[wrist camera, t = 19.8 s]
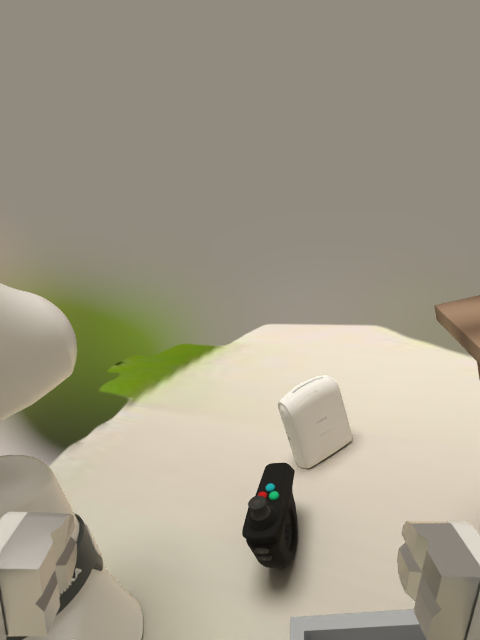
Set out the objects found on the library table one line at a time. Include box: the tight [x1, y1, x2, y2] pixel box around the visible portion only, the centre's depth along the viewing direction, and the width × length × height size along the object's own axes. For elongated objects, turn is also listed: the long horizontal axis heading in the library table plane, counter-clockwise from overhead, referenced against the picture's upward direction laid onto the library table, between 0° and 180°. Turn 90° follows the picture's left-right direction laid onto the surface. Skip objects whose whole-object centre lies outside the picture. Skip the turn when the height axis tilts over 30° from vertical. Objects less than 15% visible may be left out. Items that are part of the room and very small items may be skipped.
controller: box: [242, 463, 298, 568], centre depth 48 cm, size 4×12×10 cm, turn 163°
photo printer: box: [278, 375, 352, 469], centre depth 62 cm, size 10×4×12 cm, turn 117°
